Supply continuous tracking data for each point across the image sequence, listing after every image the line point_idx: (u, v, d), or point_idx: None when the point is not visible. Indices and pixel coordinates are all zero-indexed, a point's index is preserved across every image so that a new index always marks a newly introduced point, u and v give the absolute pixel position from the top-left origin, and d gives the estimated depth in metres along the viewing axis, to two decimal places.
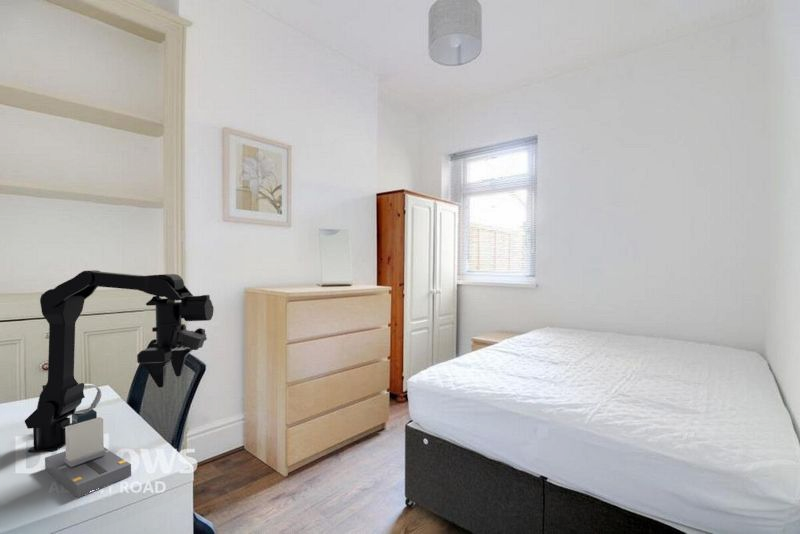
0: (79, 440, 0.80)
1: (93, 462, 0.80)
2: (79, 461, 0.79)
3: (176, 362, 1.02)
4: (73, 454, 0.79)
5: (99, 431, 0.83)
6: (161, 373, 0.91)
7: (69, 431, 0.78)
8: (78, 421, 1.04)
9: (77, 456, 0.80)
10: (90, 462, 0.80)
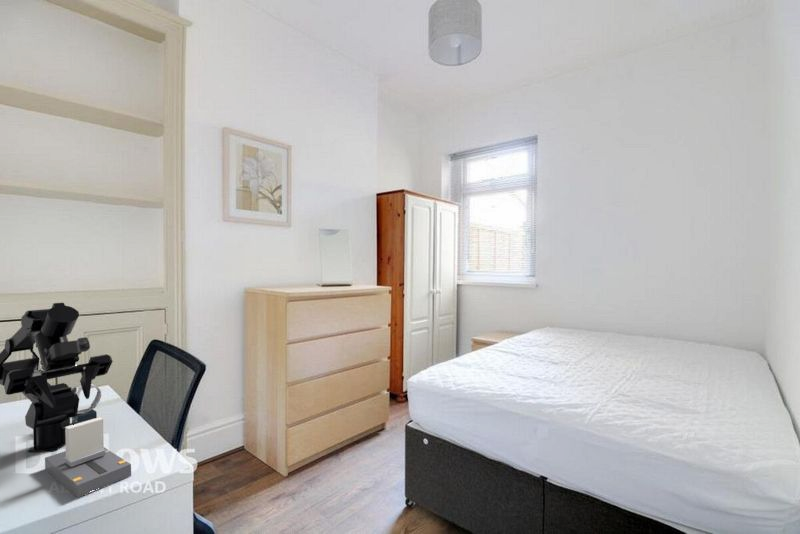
0: (79, 440, 0.80)
1: (93, 462, 0.80)
2: (79, 461, 0.79)
3: (83, 386, 0.91)
4: (73, 454, 0.79)
5: (99, 431, 0.83)
6: (43, 392, 0.84)
7: (69, 431, 0.78)
8: (78, 421, 1.04)
9: (77, 456, 0.80)
10: (90, 462, 0.80)
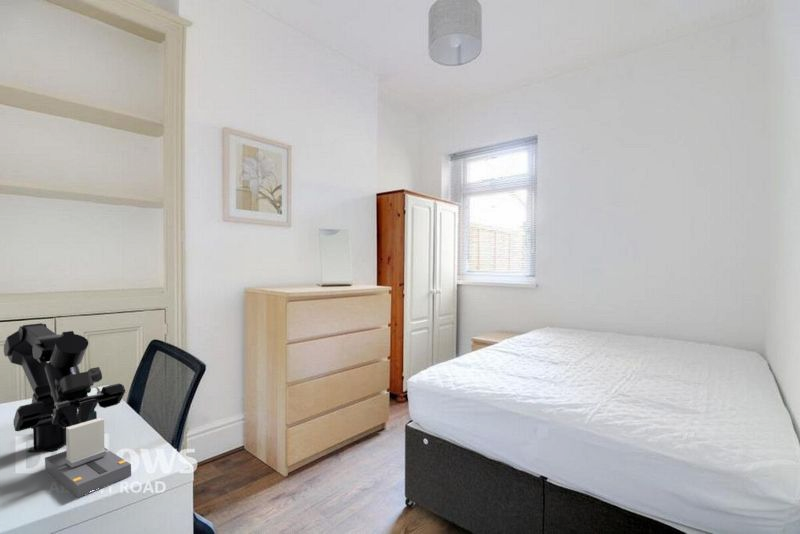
0: (80, 440, 0.80)
1: (93, 462, 0.80)
2: (80, 462, 0.79)
3: None
4: (74, 455, 0.79)
5: (100, 431, 0.83)
6: (71, 423, 0.82)
7: (70, 432, 0.78)
8: None
9: (78, 457, 0.79)
10: (90, 462, 0.80)
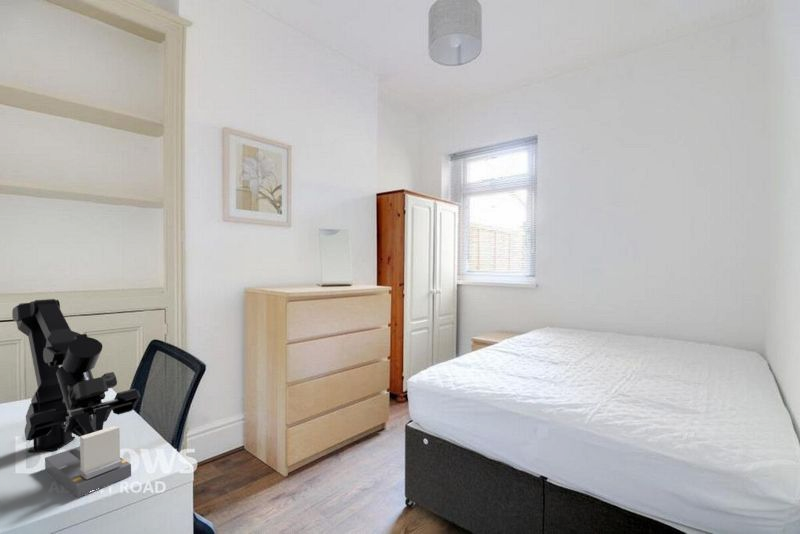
0: (95, 450, 0.75)
1: None
2: (95, 473, 0.74)
3: (94, 431, 0.79)
4: (88, 465, 0.74)
5: (115, 440, 0.78)
6: (85, 431, 0.77)
7: (84, 441, 0.74)
8: None
9: (92, 467, 0.75)
10: None
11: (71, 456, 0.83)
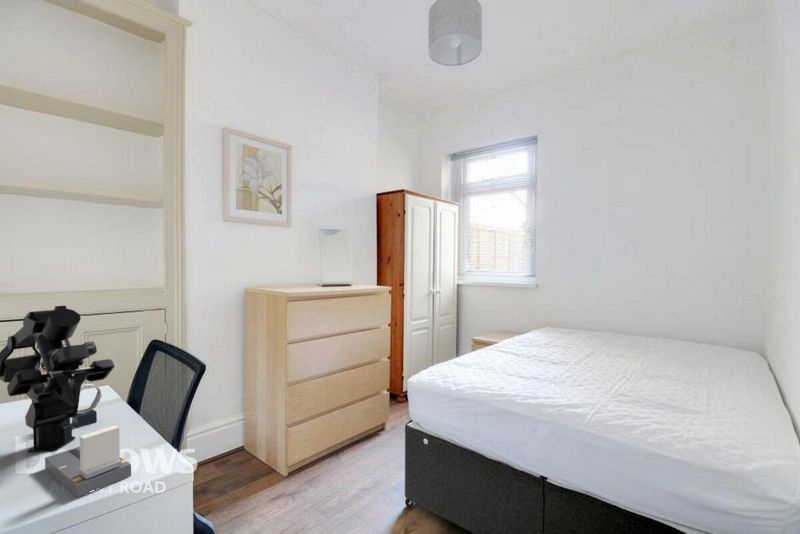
0: (95, 450, 0.75)
1: None
2: (94, 473, 0.74)
3: None
4: (88, 465, 0.74)
5: (115, 440, 0.78)
6: (64, 391, 0.86)
7: (84, 441, 0.74)
8: (78, 421, 1.04)
9: (92, 467, 0.75)
10: None
11: (71, 456, 0.83)
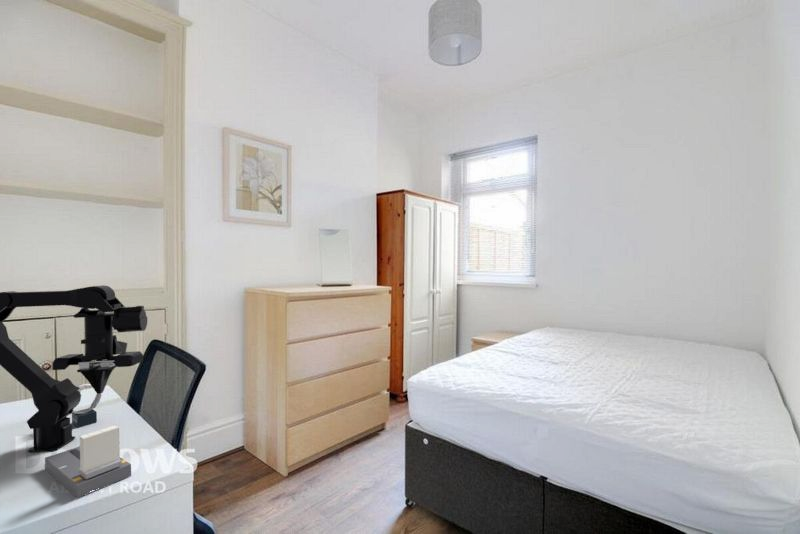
0: (95, 450, 0.75)
1: None
2: (94, 473, 0.74)
3: None
4: (88, 465, 0.74)
5: (115, 440, 0.78)
6: (107, 377, 0.98)
7: (84, 441, 0.74)
8: (78, 421, 1.04)
9: (92, 467, 0.75)
10: None
11: (71, 456, 0.83)
